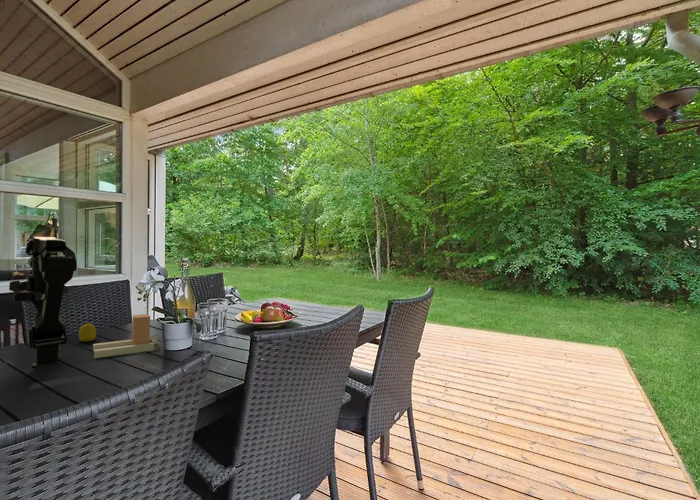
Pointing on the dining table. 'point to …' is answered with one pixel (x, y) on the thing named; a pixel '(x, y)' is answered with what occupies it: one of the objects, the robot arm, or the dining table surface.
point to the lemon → (87, 332)
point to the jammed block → (140, 329)
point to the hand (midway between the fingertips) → (42, 317)
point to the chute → (123, 348)
